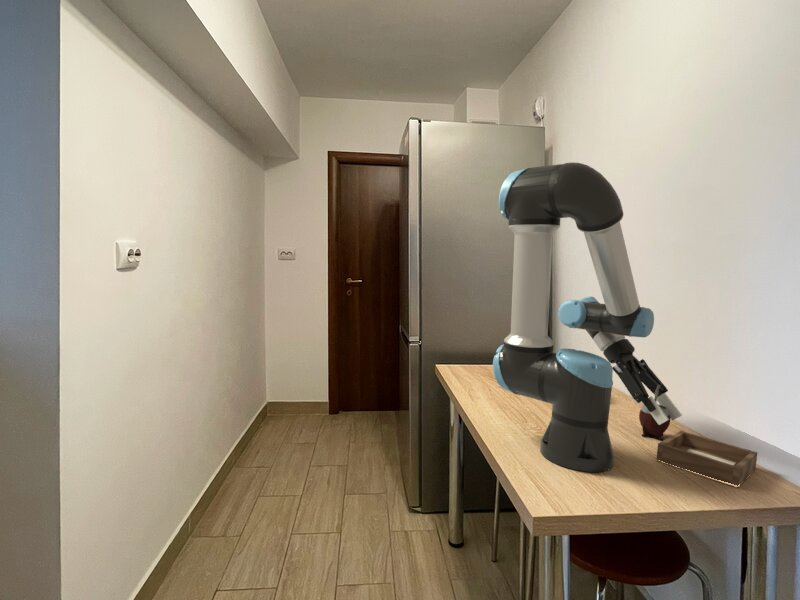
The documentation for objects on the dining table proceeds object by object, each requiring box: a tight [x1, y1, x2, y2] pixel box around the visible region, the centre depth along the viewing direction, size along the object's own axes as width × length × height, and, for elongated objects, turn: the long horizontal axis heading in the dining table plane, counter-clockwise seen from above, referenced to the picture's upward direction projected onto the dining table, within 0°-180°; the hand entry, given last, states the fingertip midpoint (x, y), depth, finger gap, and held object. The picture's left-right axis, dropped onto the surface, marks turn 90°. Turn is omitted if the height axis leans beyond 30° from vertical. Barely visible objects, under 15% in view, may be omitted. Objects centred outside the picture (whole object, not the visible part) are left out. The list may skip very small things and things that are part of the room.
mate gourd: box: [638, 385, 671, 442], centre depth 115 cm, size 8×8×15 cm
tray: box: [655, 430, 758, 486], centre depth 99 cm, size 15×15×4 cm
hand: (670, 419), depth 112 cm, fingers closed on mate gourd, 7 cm apart
